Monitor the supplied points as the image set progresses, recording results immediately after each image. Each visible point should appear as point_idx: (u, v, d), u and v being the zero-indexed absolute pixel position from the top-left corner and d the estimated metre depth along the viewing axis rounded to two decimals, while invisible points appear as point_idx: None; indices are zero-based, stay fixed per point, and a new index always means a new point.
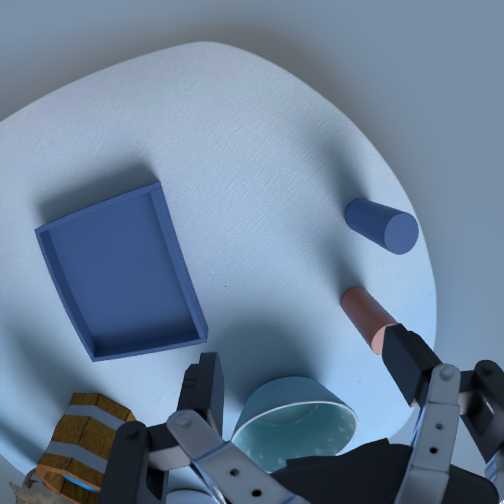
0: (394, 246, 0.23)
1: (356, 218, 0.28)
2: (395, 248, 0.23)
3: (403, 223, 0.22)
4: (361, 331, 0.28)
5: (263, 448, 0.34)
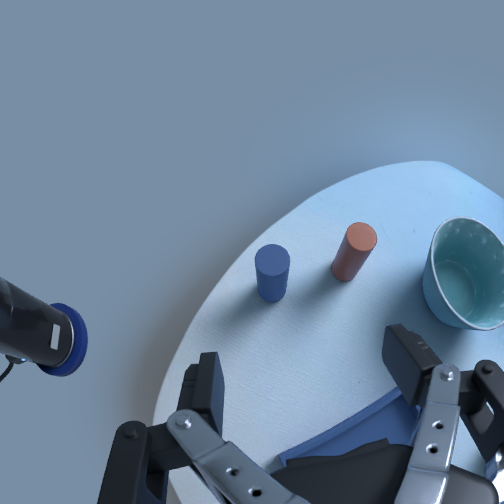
0: (283, 262, 0.30)
1: (274, 294, 0.35)
2: (285, 261, 0.30)
3: (263, 261, 0.30)
4: (363, 259, 0.33)
5: (496, 292, 0.31)
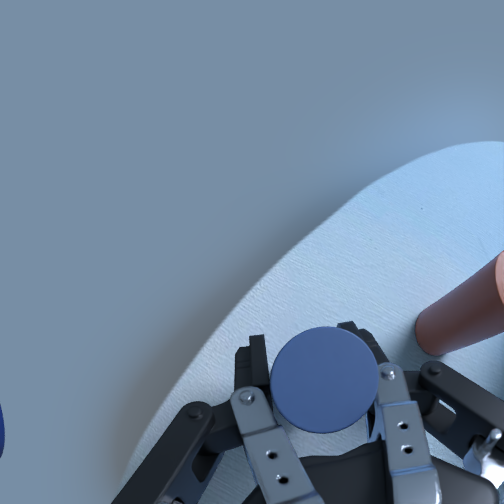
0: (361, 388, 0.08)
1: None
2: (365, 383, 0.08)
3: (299, 387, 0.09)
4: None
5: None
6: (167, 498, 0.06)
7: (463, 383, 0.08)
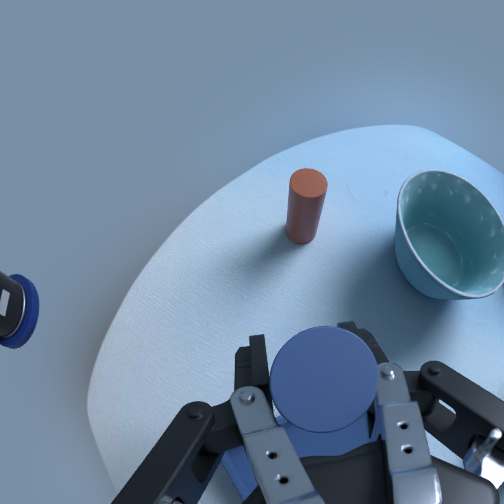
0: (361, 387, 0.08)
1: None
2: (365, 383, 0.08)
3: (298, 386, 0.09)
4: (314, 211, 0.29)
5: (486, 258, 0.27)
6: (167, 498, 0.06)
7: (463, 383, 0.08)
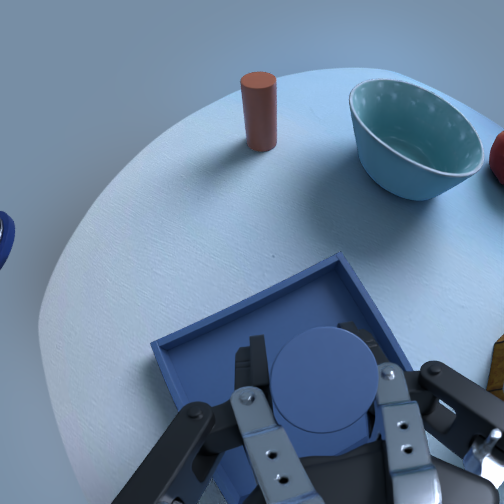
0: (361, 388, 0.08)
1: None
2: (365, 383, 0.08)
3: (299, 387, 0.09)
4: (266, 107, 0.28)
5: (459, 161, 0.26)
6: (167, 498, 0.06)
7: (462, 383, 0.08)
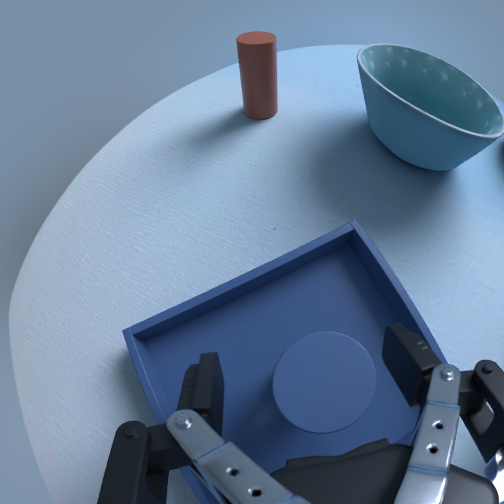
0: (359, 390, 0.09)
1: None
2: (363, 386, 0.09)
3: (299, 389, 0.09)
4: (265, 66, 0.23)
5: (478, 129, 0.21)
6: None
7: None
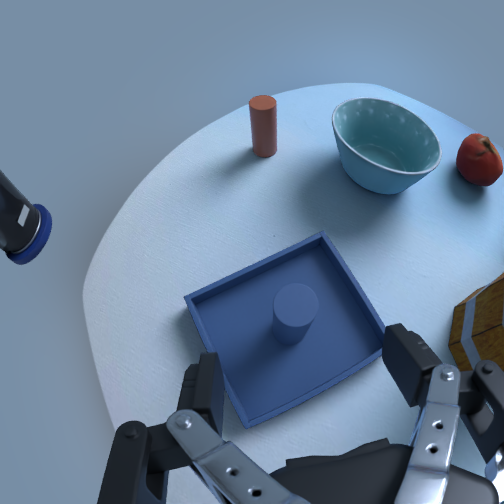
0: (310, 308, 0.23)
1: (294, 339, 0.27)
2: (312, 307, 0.23)
3: (284, 307, 0.23)
4: (268, 123, 0.37)
5: (423, 162, 0.35)
6: None
7: None
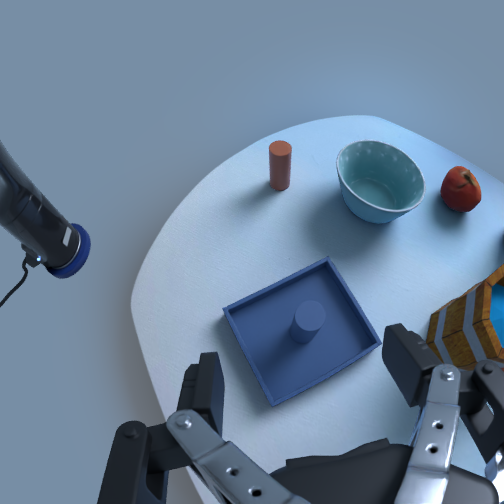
0: (320, 318, 0.32)
1: (307, 339, 0.37)
2: (321, 317, 0.33)
3: (302, 317, 0.33)
4: (285, 165, 0.47)
5: (410, 196, 0.45)
6: None
7: None
